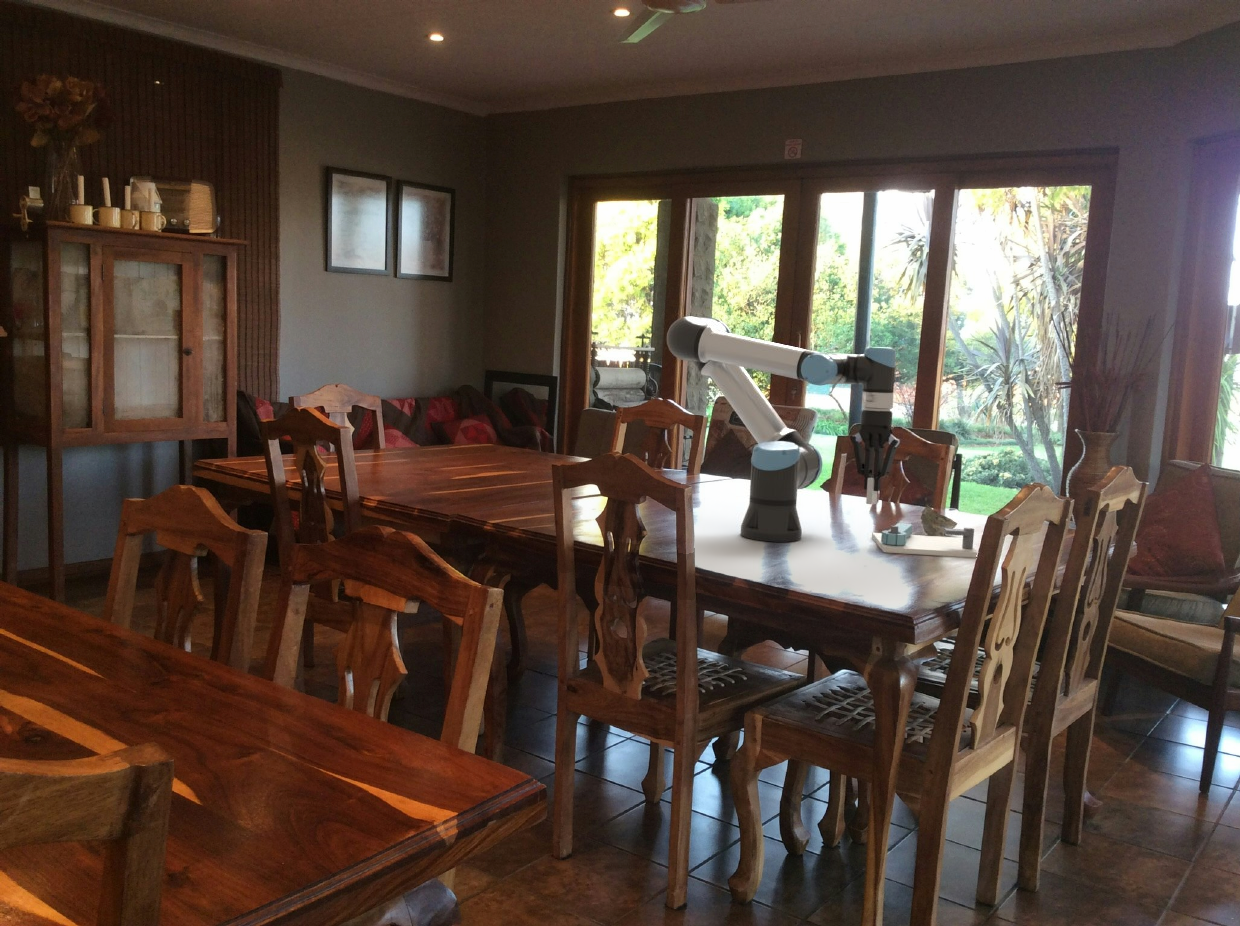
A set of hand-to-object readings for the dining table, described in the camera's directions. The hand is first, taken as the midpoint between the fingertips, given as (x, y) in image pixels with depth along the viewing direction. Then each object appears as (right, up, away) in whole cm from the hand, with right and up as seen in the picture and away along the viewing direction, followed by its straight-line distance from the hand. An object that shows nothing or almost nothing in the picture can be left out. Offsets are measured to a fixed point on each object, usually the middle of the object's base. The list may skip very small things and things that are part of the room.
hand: (871, 503), depth 268 cm
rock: (+20, -9, +11) cm, 25 cm away
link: (+6, -9, -4) cm, 11 cm away
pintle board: (+11, -11, -5) cm, 16 cm away
